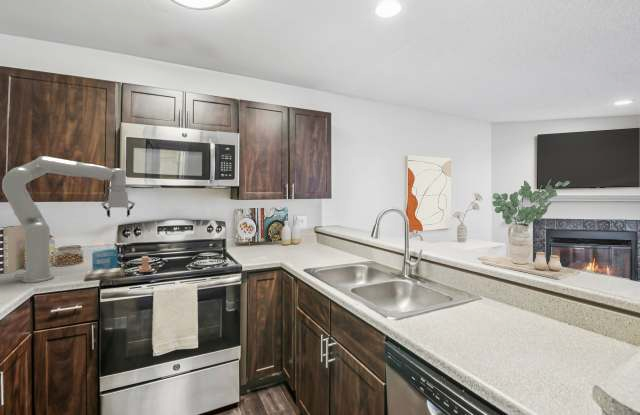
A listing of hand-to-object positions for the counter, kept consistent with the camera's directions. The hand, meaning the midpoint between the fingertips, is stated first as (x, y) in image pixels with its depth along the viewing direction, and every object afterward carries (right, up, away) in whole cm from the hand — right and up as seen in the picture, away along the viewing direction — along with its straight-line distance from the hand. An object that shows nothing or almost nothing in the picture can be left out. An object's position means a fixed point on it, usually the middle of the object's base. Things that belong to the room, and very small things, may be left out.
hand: (118, 216), depth 190 cm
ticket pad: (+4, -33, -17) cm, 37 cm away
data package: (-7, -33, -1) cm, 33 cm away
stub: (+20, -31, -7) cm, 38 cm away
